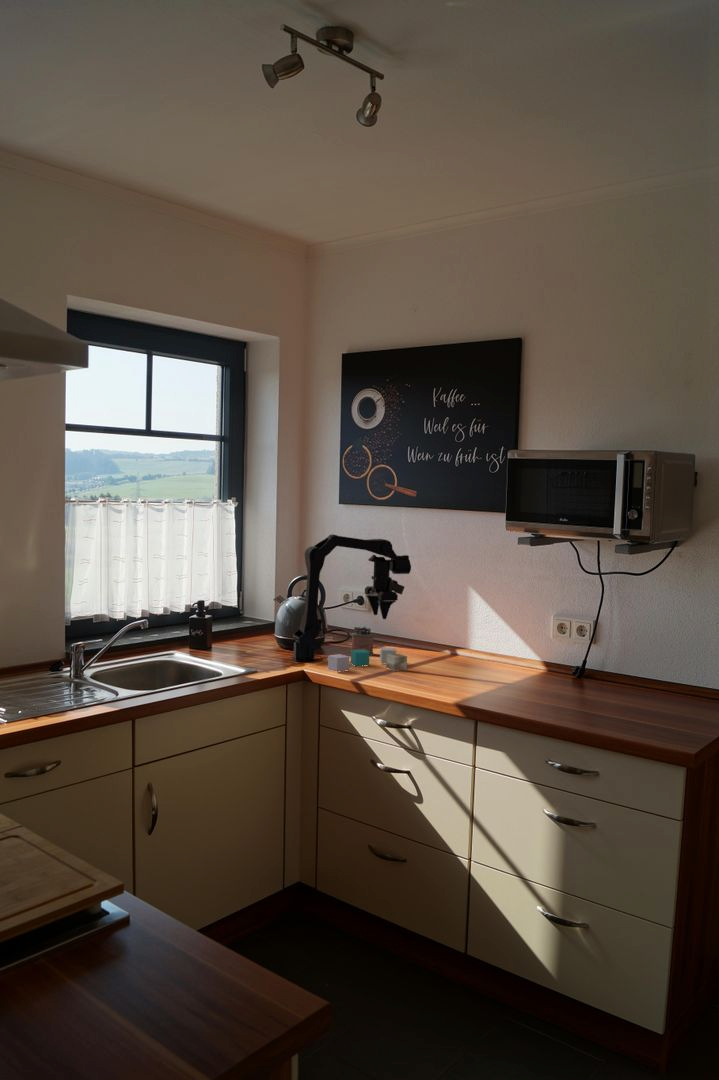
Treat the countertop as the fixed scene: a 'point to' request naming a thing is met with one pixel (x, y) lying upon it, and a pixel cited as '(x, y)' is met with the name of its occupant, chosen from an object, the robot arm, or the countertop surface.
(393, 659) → the grey-green cube
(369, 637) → the brown upright block
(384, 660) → the grey cube
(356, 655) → the teal cube
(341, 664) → the lilac cube
